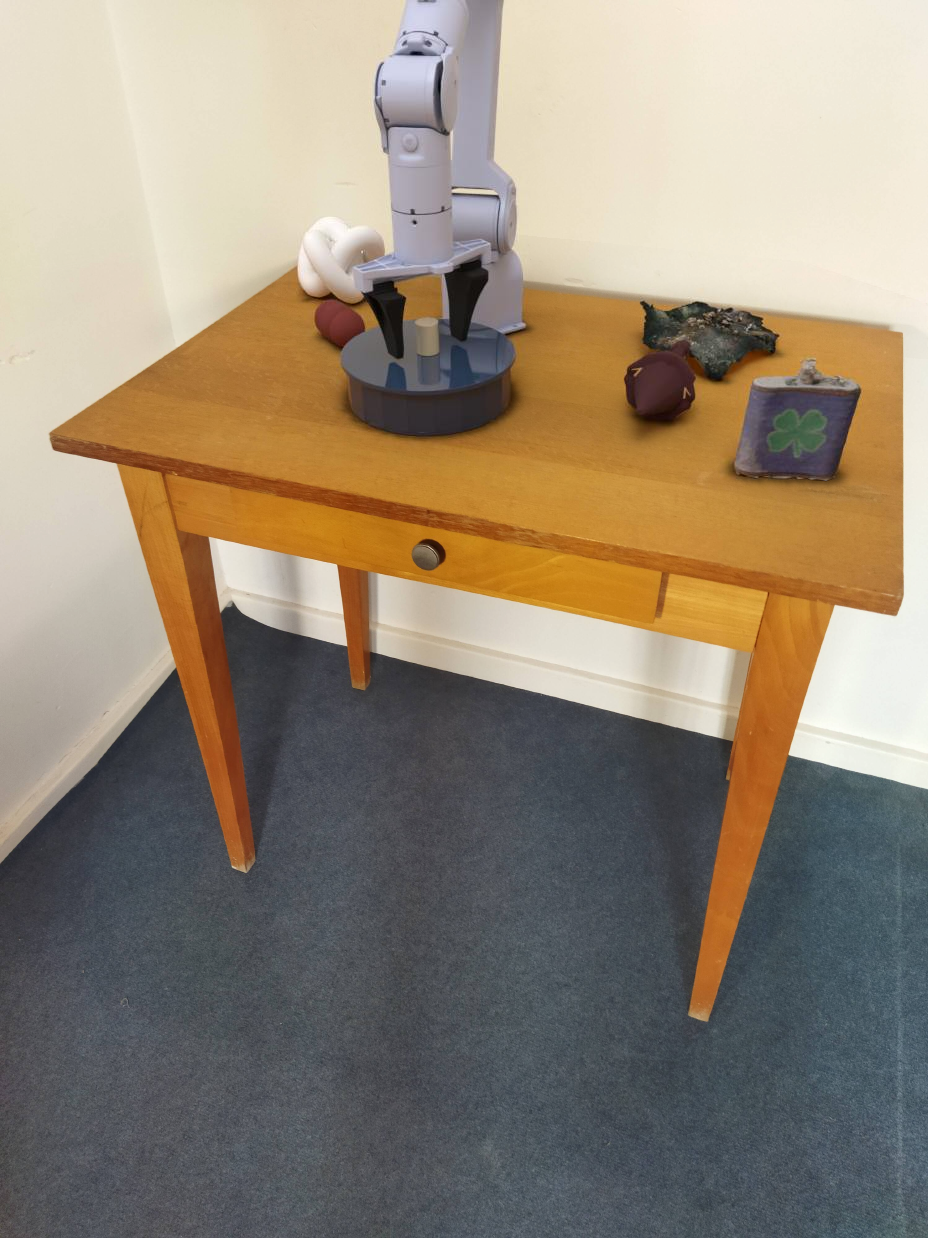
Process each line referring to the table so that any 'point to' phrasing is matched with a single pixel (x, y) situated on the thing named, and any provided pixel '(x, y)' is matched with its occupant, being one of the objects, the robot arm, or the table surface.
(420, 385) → the lid
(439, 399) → the dark blue bowl
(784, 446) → the flask
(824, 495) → the table surface
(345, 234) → the white twisted tube
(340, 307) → the sweet potato
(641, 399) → the dark maroon rounded piece
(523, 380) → the table surface
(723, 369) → the decorative rock
